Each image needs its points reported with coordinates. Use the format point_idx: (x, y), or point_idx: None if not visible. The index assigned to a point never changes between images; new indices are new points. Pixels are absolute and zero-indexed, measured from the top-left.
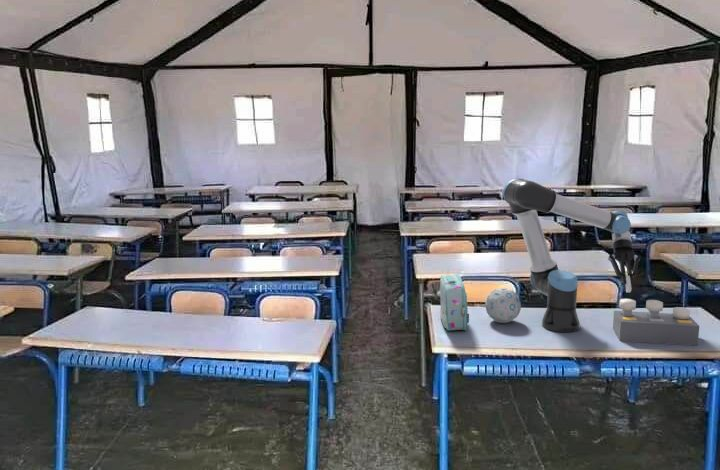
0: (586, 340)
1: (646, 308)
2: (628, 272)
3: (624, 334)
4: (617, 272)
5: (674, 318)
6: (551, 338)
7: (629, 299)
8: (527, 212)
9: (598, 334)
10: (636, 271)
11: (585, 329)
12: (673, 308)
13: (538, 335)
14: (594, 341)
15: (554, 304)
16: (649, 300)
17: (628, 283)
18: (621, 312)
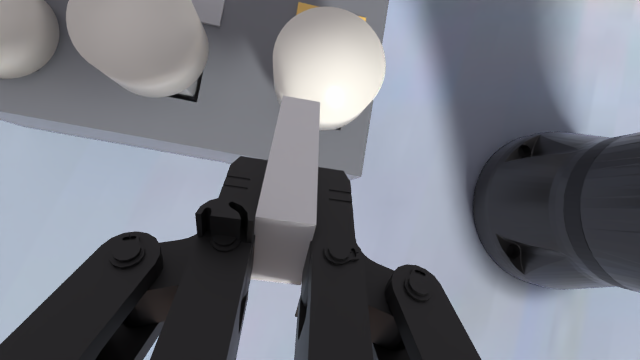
0: (483, 53)
1: (207, 47)
2: (238, 319)
3: None
4: (445, 306)
5: (61, 24)
6: (597, 78)
7: (304, 95)
8: None
9: (420, 116)
10: (69, 293)
11: (453, 175)
12: (9, 33)
13: (634, 109)
14: (457, 42)
15: None
16: (154, 62)
17: (301, 137)
18: (331, 141)
